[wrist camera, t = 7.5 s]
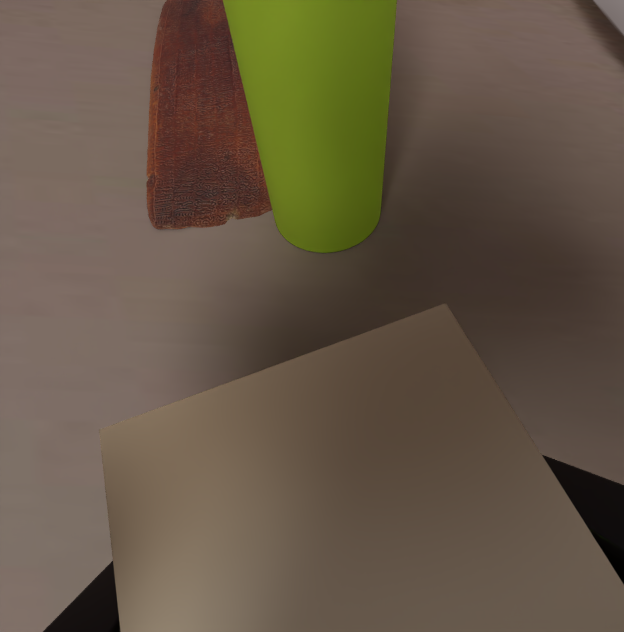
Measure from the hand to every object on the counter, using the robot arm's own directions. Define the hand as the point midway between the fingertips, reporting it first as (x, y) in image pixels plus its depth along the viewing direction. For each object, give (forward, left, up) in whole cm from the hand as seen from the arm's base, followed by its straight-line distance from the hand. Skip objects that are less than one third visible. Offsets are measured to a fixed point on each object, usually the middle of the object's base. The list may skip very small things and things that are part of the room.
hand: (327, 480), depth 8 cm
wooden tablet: (+29, -3, -10) cm, 31 cm away
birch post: (-1, 0, -7) cm, 7 cm away
